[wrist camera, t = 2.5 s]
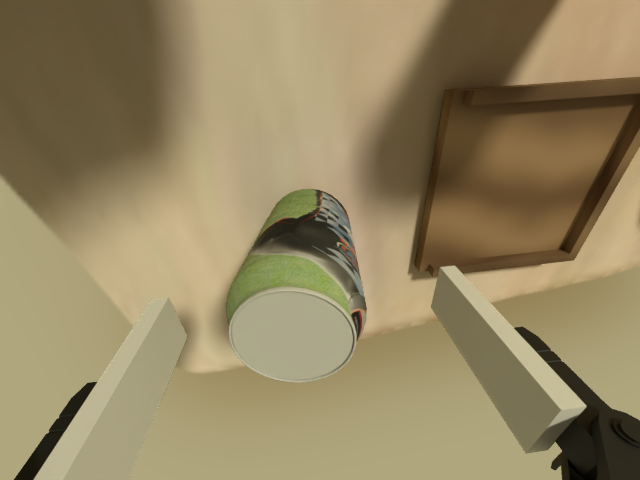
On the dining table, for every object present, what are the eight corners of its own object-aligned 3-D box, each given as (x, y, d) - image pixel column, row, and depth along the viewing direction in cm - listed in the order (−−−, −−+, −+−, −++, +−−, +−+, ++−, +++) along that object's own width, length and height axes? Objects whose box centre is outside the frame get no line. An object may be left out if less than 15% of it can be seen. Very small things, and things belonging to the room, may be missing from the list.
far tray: (445, 90, 16) (461, 91, 15) (645, 76, 17) (680, 75, 16) (414, 265, 24) (423, 277, 22) (556, 249, 25) (574, 260, 23)
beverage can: (327, 260, 22) (360, 408, 12) (243, 236, 20) (198, 390, 10) (360, 197, 20) (437, 320, 9) (266, 162, 18) (236, 271, 7)
